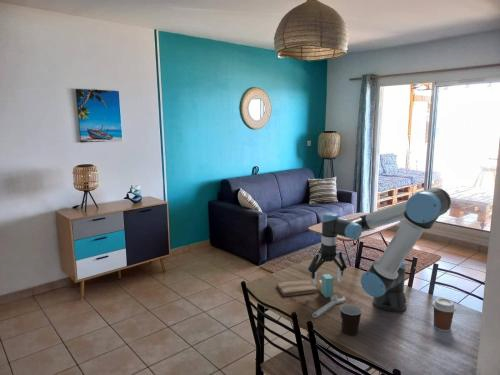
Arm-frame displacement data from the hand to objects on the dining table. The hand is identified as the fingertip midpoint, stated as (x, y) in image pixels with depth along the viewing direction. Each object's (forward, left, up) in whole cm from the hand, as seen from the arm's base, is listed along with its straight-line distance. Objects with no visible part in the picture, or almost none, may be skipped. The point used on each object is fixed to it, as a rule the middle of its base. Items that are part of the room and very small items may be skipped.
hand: (326, 282), depth 186 cm
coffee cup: (-40, -35, -7) cm, 54 cm away
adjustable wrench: (-12, +5, -7) cm, 14 cm away
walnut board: (+9, +13, -6) cm, 17 cm away
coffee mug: (-32, +4, -7) cm, 33 cm away
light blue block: (+3, 0, -6) cm, 7 cm away
